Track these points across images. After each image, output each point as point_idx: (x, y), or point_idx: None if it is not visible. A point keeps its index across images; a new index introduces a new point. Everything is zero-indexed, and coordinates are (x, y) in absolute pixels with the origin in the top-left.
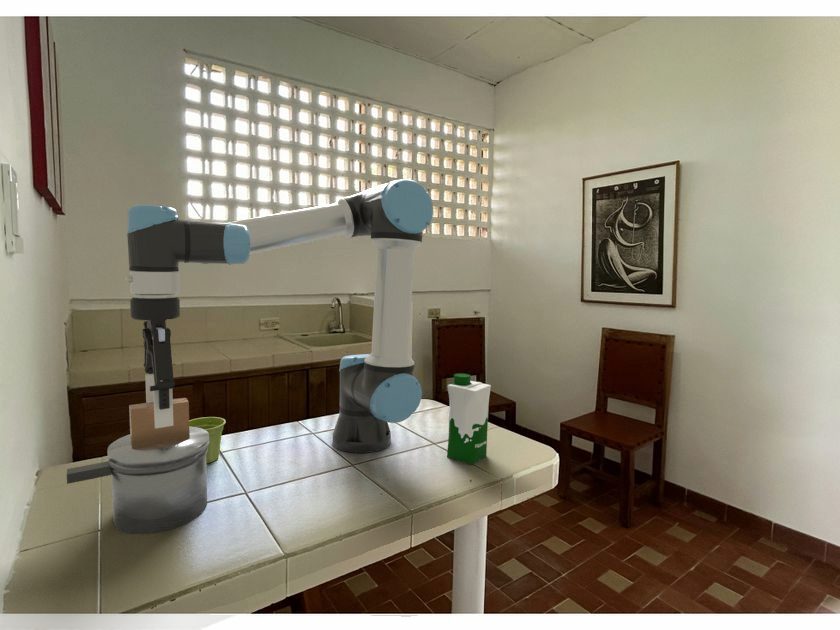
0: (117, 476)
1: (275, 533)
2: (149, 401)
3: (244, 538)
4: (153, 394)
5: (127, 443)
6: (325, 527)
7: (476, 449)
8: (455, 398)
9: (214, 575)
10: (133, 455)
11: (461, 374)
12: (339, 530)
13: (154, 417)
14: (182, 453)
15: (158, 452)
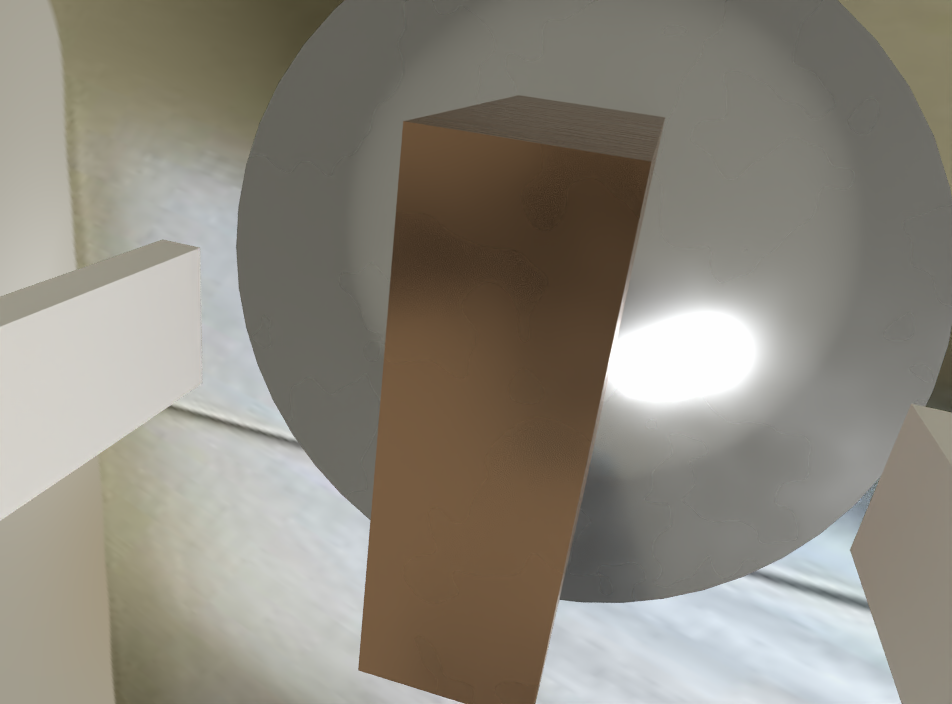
0: None
1: (192, 421)
2: (927, 475)
3: (216, 342)
4: (938, 575)
5: (690, 95)
6: (148, 529)
7: None
8: None
9: (80, 189)
10: (376, 68)
11: None
12: (116, 542)
13: (121, 270)
14: (252, 332)
15: (330, 224)
